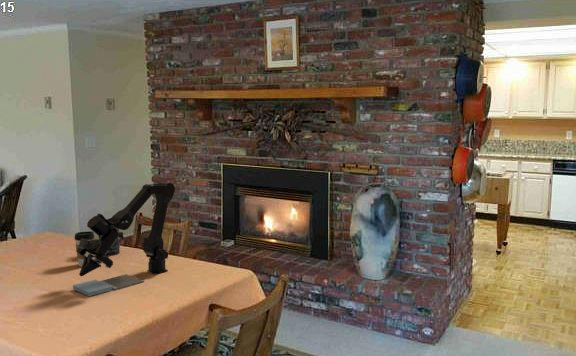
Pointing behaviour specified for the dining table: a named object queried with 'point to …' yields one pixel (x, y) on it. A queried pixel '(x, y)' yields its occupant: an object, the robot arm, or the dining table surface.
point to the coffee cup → (78, 237)
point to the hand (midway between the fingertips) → (80, 275)
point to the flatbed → (122, 281)
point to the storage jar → (115, 246)
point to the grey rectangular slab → (92, 287)
